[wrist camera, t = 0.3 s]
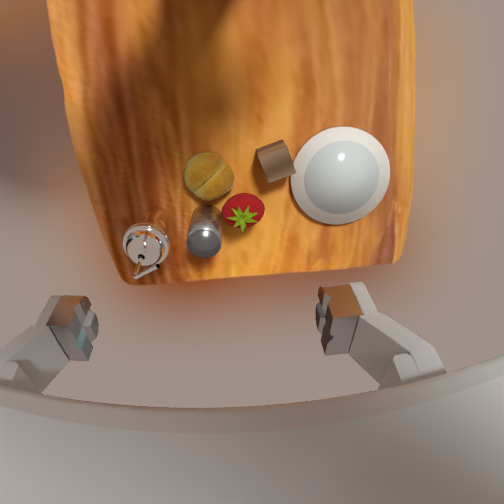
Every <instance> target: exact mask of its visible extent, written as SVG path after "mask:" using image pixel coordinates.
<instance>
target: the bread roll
mask: <svg viewBox="0 0 504 504" xmlns="http://www.w3.org/2000/svg"><path fill="white" fill-rule="evenodd" d="M184 181H185V184H186V186H187V188H188V189H189V190H190V191H191V192H192V193H193V194H195V195H196V196H197V197H199V198H200V199H203V200H207V201H211V200H214V199H217V198H219V197H221V196H222V195H224V194H225V193H226V192H228V191H229V190H230V189H231V188H232V187H233V182H234V174H233V172H232V170H231V168H230V167H229V166H228V165H227V164H226V163H225V162H224V161H223V160H222V158H221V157H220V156H219V155H218V154H217V153H213V152H205V153H200V154H197V155H195V156H193V157H192V158H191V159H190V160H189V161H188V163H187V165H186V167H185V170H184Z"/></svg>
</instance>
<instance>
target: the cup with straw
mask: <svg viewBox="0 0 504 504" xmlns="http://www.w3.org/2000/svg"><path fill="white" fill-rule="evenodd" d="M167 220H168V216H167V213H166V212H165V211H164V210H163V209H162V208H159V207H153V208H150V209H149V210H148V211H147V212H146V214H145V215H144V216H143V217H142V219H141V220H140V221H139V223H137V224H134V225H132V226H131V227H129V228H128V229H127V230H126V232H125V234H124V236H123V248H124V251H125V253H126V254H127V256H128V257H129V259H130V260H131V261H132V262H133V263H134V264H136V268H135V270H134V273H133V278H134V279H138V278H140V277H142V276H144V275H146V274H148V273H150V272H152V271H154V270H156V269H158V268H159V267H160V266H159V263H161V262H162V261H163V260H164V259H165V258H166V257H167V255H168V254H169V250H170V242H169V239H168V237H167V235H166V230H167ZM140 266H141V267H149V266H151V267H149V268H147V269H146V270H144V271H142V272H140V273H138V272H139V269H140Z"/></svg>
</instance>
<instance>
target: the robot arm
mask: <svg viewBox="0 0 504 504" xmlns="http://www.w3.org/2000/svg"><path fill="white" fill-rule="evenodd" d="M318 297H319V301H320V302H319V303H318V304H317V305H316V325H317V329H318V331H319V332H320V333H321V334H322V337H321V343H322V347H323V350H324V354H325V355H335V354H345V353H349V355H350V356H351V357H352V358H353V359H354V360H355V361H356V362H357V363H358V364H359V365H360V366H361V367H362V368H363V369H365V370H366V371H367V372H368V373H369V374H370V375H371V376H372V377H373V378H374V379H375V380H376V381H377V382H378V383H379V384H380V386H379V388H378V390H375V391H370V392H365V393H359V394H353V395H348V396H341V397H335V398H328V399H321V400H313V401H305V402H296V403H287V404H275V405H263V406H249V407H226V408H225V407H224V408H168V407H145V406H131V405H118V404H108V403H98V402H89V401H82V400H75V399H67V398H61V397H55V396H50V395H44V394H42V391H43V390H44V389H45V388H46V387H47V386H48V385H49V384H50V382H51V381H52V380H53V379H54V378H55V377H56V376H57V375H58V374H59V372H60V371H61V370H62V369H63V368H64V367H65V366H66V365H67V363H68V362H69V360H76V361H89V357H90V355H91V352H92V349H93V346H92V344H91V342H92V341H93V340H94V339H96V337H97V334H98V325H99V324H98V319H97V316H96V314H95V313H94V312H93V311H92V310H90V306H91V303H90V301H89V299H88V297H86V296H65V295H64V296H57V295H55V296H54V295H53V296H51V297H50V298H49V300H48V302H47V303H46V305H45V307H44V309H43V311H42V312H41V314H40V316H39V318H38V320H37V322H36V324H35V325H31V326H30V327H29V328H27V329H26V330H25V331H23V332H22V333H21V334H19V335H18V336H17V337H16V338H14V339H13V340H12V341H10V342H9V343H8V344H7V345H5V346H4V347H3V348H2V349H0V504H504V354H503V355H500V356H498V357H495V358H492V359H489V360H486V361H483V362H481V363H478V364H475V365H471V366H468V367H465V368H462V369H459V370H456V371H452V372H449V373H446V371H445V369H444V367H443V365H442V363H441V361H440V359H439V357H438V355H437V353H436V351H435V349H434V347H433V346H432V345H430V344H429V343H427V342H425V341H424V340H423V339H421V338H419V337H418V336H416V335H415V334H413V333H412V332H410V331H409V330H407V329H406V328H404V327H403V326H401V325H400V324H398V323H396V322H395V321H393V320H392V319H390V318H389V317H388V316H386V315H385V314H383V313H381V314H379V313H378V311H377V309H376V307H375V305H374V303H373V301H372V299H371V297H370V295H369V293H368V291H367V289H366V287H365V285H364V284H363V283H362V282H355V283H348V284H338V285H325V286H320V287H319V290H318Z"/></svg>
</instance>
